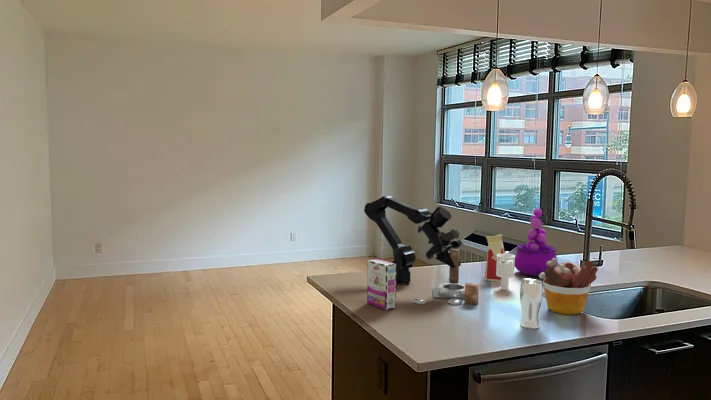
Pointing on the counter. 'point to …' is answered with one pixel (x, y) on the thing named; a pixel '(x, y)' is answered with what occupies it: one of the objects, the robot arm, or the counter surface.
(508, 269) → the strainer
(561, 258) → the counter surface
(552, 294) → the bucket of meat
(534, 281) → the beer glass
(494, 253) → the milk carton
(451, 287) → the octagonal socket plate
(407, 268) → the robot arm
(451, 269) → the walnut peg
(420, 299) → the disc
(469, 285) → the cherry stub
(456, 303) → the disc
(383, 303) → the candy bar box
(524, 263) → the decorative plant
